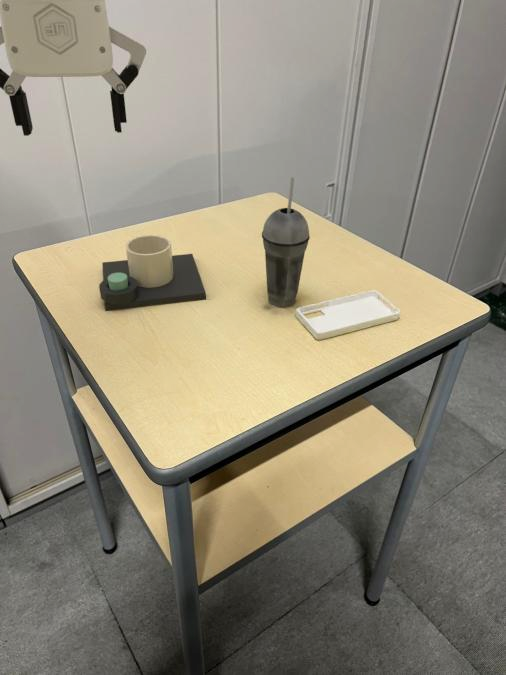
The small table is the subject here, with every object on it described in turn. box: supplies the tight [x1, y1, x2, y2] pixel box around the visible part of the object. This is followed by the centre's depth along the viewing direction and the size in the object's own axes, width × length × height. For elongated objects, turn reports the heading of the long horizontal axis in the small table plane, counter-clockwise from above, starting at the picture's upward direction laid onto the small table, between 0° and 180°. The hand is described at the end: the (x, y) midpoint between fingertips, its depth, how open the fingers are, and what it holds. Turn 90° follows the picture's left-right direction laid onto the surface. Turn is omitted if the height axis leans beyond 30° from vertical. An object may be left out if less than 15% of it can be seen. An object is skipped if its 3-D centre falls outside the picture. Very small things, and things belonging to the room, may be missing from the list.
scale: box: [98, 253, 207, 312], centre depth 87 cm, size 16×14×3 cm
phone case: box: [295, 289, 402, 341], centre depth 81 cm, size 7×1×15 cm
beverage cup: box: [261, 176, 311, 309], centre depth 79 cm, size 7×7×20 cm
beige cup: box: [125, 234, 173, 288], centre depth 86 cm, size 7×7×6 cm
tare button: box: [108, 273, 128, 291], centre depth 81 cm, size 3×3×2 cm
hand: (74, 131), depth 58 cm, fingers open, 9 cm apart
